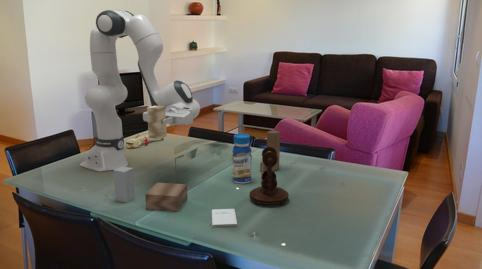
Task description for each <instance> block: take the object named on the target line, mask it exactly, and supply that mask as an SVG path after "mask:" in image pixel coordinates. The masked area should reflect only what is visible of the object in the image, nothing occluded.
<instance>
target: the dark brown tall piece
mask: <svg viewBox="0 0 482 269" xmlns="http://www.w3.org/2000/svg"><path fill="white" fill-rule="evenodd" d="M261 156H262V158H261V162H262V161H263V163H262V170H261V171H260V182H261V183H260V184H261V186H257V187H255V188H253V189H252V190H250V191H249V196H248V197H249V198H250V199H251V200H252V201H253V202H254V203H255V205H256V206H257V205H258V203H259V204H264V205H277V204H280V205H281V206H284V202H286V201H287V200H288V199H289V192H288V191H287V190H285V189H284V188H281V187H279V186H278V180H277V174H276V173H275V171H272V167H273V166H274V165H275V164H276V163H277V161H278V157H277V152H276V150H275V149H274V148H273V147H267V146H266V147H265V148H263V149H262V152H261ZM264 165H265V166H266V167H267V171H265V172H263V168H264Z"/></svg>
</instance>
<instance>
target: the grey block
mask: <svg viewBox="0 0 482 269" xmlns="http://www.w3.org/2000/svg"><path fill="white" fill-rule="evenodd" d="M134 175H135V174H134V168H133V167H128V166H126V167H123V166H122V167H120V168H118V169H115V170H113V179H114V193H115V201H118V202H122V203H128V202H131V201H132V200H134V199H135V198H136V194H135V191H136V190H135V178H134V177H135V176H134Z"/></svg>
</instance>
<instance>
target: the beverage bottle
mask: <svg viewBox="0 0 482 269" xmlns="http://www.w3.org/2000/svg"><path fill="white" fill-rule="evenodd" d="M250 142H251V136H250V135H249V134H247V133H236V134H234V135H233V144H234V145H233V148H232V150H231V152H232V155H231V160H232V182H233V183H235V184H239V185H241V184H242V185H243V184H248V183H250V182H251V181H252V160H253V156H252V151H253V150H252V148H251V146H250Z"/></svg>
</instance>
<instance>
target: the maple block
mask: <svg viewBox="0 0 482 269" xmlns="http://www.w3.org/2000/svg"><path fill="white" fill-rule="evenodd" d="M146 112H147V116H148V122H147V131H148V133H147V134H148V135H149V138H154V139H161V138H166V137H167V135H168V134H167V124H161V119H166V111H165V106H151V105H150V106H148V107H146Z"/></svg>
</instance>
